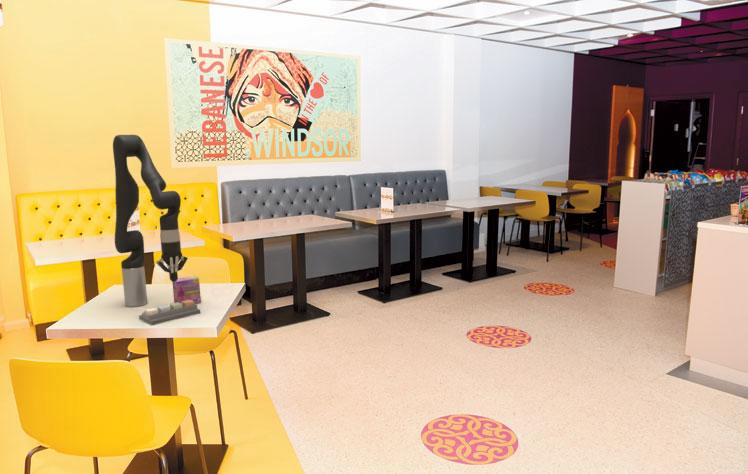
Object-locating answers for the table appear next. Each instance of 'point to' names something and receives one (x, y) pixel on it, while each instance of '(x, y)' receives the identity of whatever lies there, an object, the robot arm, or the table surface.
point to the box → (187, 289)
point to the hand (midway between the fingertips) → (173, 281)
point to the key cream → (151, 311)
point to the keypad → (169, 315)
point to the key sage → (175, 305)
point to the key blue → (163, 308)
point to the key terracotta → (187, 303)
